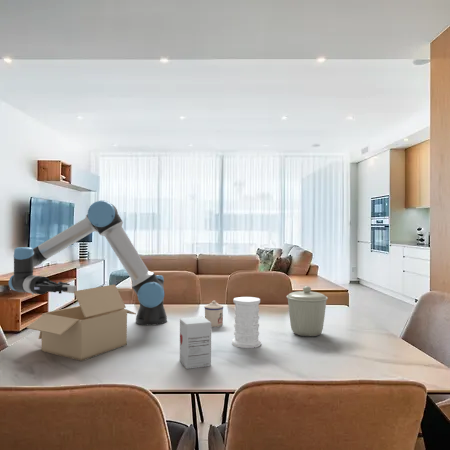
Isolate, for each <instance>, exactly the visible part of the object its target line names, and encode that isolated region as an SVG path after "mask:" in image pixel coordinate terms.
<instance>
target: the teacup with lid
mask: <svg viewBox="0 0 450 450" xmlns="http://www.w3.org/2000/svg"><path fill="white" fill-rule="evenodd" d="M223 312H224V305H222V304H219V303H218V302H217V300H212V301H211V302H210V303H208V304H206V305H205V306H204V318H205V319H207V320H208V321H210V322H211V328H220V327H222V326H223V324H224V323H223V317H224V313H223Z"/></svg>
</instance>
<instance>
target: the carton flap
mask: <svg viewBox="0 0 450 450" xmlns="http://www.w3.org/2000/svg"><path fill="white" fill-rule="evenodd" d="M73 294H74V296H75V298H76V300H77V302H78V306H80V307H81V310H82V312H83V314H84V317H85V318H86V317H90V316H94V315H99V314H103V313H107V312H111V311H115V310H119V309H123V308H124V309H126V308H127V307H126V305H125V303H124V300H123V298H122V296H121V294H120V291H119V290H118V287H117V286H116V284H109V285H103V286H102V285H101V286H98V287H96V286H95V287H91V288H84V289H78V290H76V291H74V293H73Z"/></svg>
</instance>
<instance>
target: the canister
mask: <svg viewBox="0 0 450 450" xmlns="http://www.w3.org/2000/svg"><path fill="white" fill-rule="evenodd" d="M286 298H287V303H288V304H287V305H288V314H289V322H290V323H289V324H290V328H291V331H292V333H294V334H295V335H297V336H300V337H318V336H320V335H321V334H322V332H323V329H324V323H325V318H326V317H325V316H326V307H327V300H328V299H329V297H328V296H326V295H325V293H324V294H323V293H321V292H317V291H312V288H311V287H310V286H309V285H307V286H306V285H305V286H303V288H302V290H299V291H292V292H290V293H288V294H287V295H286Z"/></svg>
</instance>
